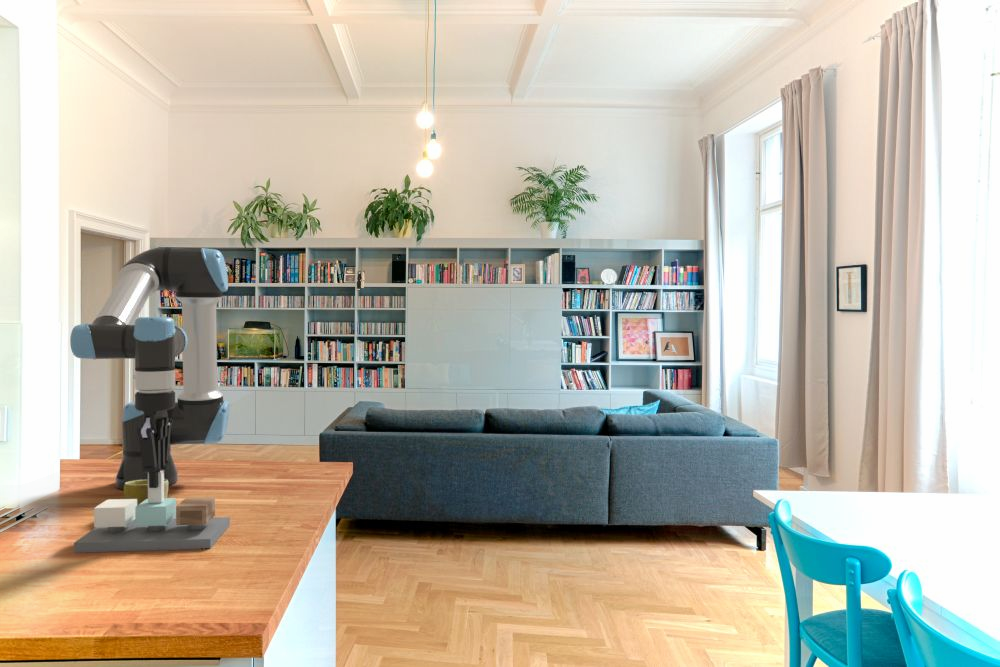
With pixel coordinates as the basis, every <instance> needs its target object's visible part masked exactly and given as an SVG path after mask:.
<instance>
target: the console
mask: <svg viewBox="0 0 1000 667" xmlns="http://www.w3.org/2000/svg"><path fill="white" fill-rule="evenodd" d="M230 520H231V517H230V516H225V517H224V516H223V517H222V516H219V517H215V516H214V517H213V518H212V519H211V520H210V521H209V522H208V523H207V524H206V525H176V517H175V518H174V519H173V520H172V521H171V522H169V523H168V524H167V525H165V526H135V519H134V520H133V521H132V522H131V523H129V524H128V525H127V526H125V527H94V528H93V529H91V530H90V531H89V532H87V533H85V534H84V535H83V536H82V537H81V538H78V539H77V540H76V541H75V542H74V543H73V553H107V552H108V553H109V552H112V553H113V552H140V551H141V552H143V551H144V552H146V551H147V552H148V551H173V550H174V551H175V550H176V551H177V550H180V549H181V550H205V548H211V547H212V548H213V546H215V544H216V543H217V542H218V540H219V539H220V538H221V537H222V536H223V535H224V534H225V532H226V531H227V530H228V529H229V528H230V526H231V525H230V524H231V521H230ZM227 528H228V529H227ZM226 529H227V530H226ZM225 530H226V531H225ZM222 534H223V535H222ZM221 535H222V536H221ZM220 536H221V537H220ZM216 541H217V542H216ZM215 542H216V543H215ZM214 543H215V544H214ZM201 548H203V549H201ZM212 548H211V549H212ZM181 550H180V551H181Z"/></svg>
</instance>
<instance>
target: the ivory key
mask: <svg viewBox="0 0 1000 667" xmlns="http://www.w3.org/2000/svg"><path fill="white" fill-rule="evenodd" d="M136 506H137V499H124V498H120V499H119V498H118V499H115V498H114V499H111V498H110V499H106V500H104V501H103V502H101V503H99V504H98V505H96V507H94V508H93V527H94V528H96V527H125V526H127V525H128V524H129V523H131V522H132V521H133V520H134V519H135V507H136Z"/></svg>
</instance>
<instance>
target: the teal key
mask: <svg viewBox="0 0 1000 667" xmlns="http://www.w3.org/2000/svg"><path fill="white" fill-rule="evenodd" d="M176 506H177V498H176V497H169V498H168V497H167V498H164V501H163V502H160V503H148V499H146V500H144V501H143V502H142V503H140V504H139V505H138V506H136V507H135V526H165V525H167V524H168V523H169V522H171V521H172V520H173V519H174V518H176Z"/></svg>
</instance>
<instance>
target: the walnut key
mask: <svg viewBox="0 0 1000 667" xmlns="http://www.w3.org/2000/svg"><path fill="white" fill-rule="evenodd" d="M215 516H216V497H213V496H211V497H210V496H209V497H208V496H207V497H185V498H184V499H183V500H182V501H181V502H179V503H178V504H176V517H175V518H176V525H206V524H207V523H208V522H209V521H210V520H211V519H212V518H215Z"/></svg>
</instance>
